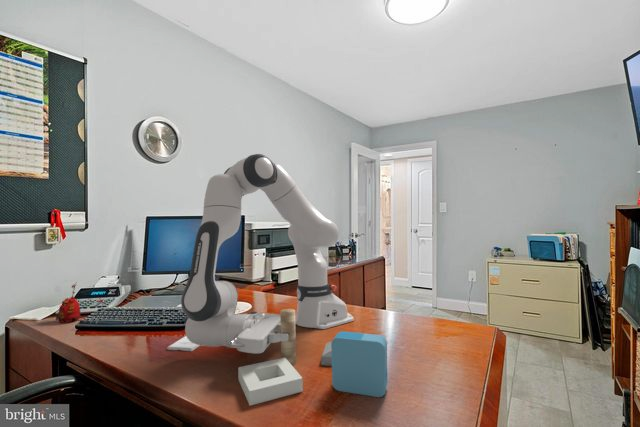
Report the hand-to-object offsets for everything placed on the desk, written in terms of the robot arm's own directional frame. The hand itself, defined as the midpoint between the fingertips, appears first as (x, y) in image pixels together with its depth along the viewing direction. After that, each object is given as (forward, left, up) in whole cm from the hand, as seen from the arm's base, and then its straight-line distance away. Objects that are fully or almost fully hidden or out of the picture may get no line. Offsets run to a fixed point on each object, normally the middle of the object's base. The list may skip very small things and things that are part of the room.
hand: (291, 333), depth 86 cm
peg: (+1, -1, -8) cm, 8 cm away
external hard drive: (+24, -29, -9) cm, 38 cm away
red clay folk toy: (+66, -76, -8) cm, 101 cm away
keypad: (-15, +5, -9) cm, 18 cm away
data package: (-9, +19, -8) cm, 23 cm away
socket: (+9, +8, -8) cm, 15 cm away
